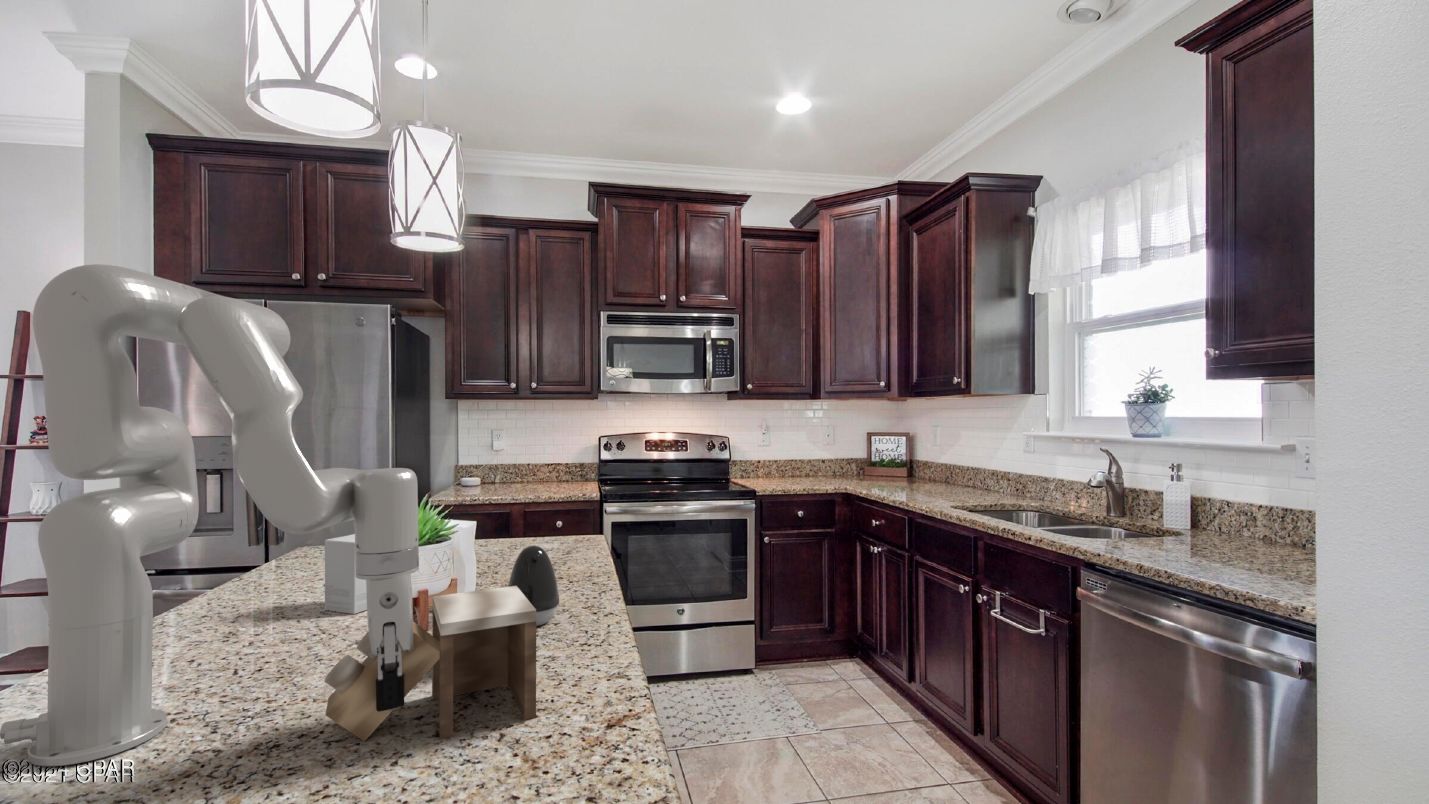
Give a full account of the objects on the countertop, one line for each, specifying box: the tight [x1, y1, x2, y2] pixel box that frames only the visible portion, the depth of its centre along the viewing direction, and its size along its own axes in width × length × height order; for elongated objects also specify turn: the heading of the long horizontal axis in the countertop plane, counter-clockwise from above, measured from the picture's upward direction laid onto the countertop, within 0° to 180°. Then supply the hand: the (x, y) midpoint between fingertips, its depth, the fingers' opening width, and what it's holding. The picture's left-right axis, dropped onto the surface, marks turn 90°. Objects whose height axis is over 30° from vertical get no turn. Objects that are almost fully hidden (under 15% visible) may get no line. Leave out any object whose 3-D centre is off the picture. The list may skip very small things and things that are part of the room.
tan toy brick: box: [324, 620, 440, 742], centre depth 83 cm, size 13×6×8 cm
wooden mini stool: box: [431, 586, 537, 740], centre depth 89 cm, size 12×14×14 cm
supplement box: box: [324, 533, 367, 615], centre depth 136 cm, size 9×9×15 cm
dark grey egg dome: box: [507, 545, 560, 627], centre depth 125 cm, size 10×10×15 cm
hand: (390, 697), depth 84 cm, fingers closed on tan toy brick, 5 cm apart
